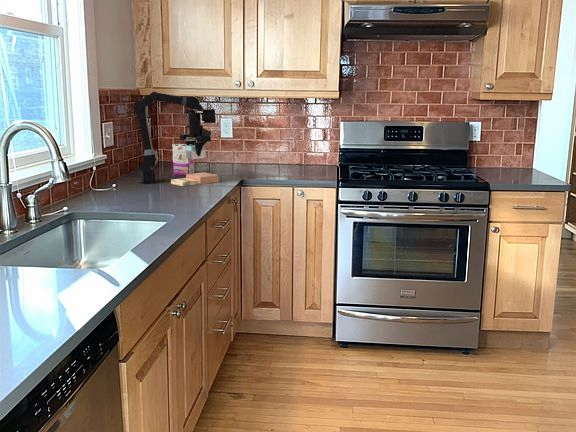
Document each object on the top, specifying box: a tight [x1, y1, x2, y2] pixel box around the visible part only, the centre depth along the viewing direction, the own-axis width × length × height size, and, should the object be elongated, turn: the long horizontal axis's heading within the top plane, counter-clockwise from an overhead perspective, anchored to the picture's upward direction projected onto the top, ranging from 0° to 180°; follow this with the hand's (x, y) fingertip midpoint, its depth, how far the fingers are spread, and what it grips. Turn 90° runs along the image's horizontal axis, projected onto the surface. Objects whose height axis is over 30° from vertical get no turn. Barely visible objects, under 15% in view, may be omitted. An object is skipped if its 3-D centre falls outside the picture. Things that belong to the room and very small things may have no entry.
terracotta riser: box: [185, 171, 219, 185], centre depth 282 cm, size 11×12×4 cm
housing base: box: [186, 149, 207, 160], centre depth 277 cm, size 5×8×4 cm, turn 133°
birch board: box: [170, 177, 198, 187], centre depth 275 cm, size 8×10×2 cm
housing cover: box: [186, 144, 206, 151], centre depth 276 cm, size 5×8×3 cm, turn 133°
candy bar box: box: [171, 143, 196, 177], centre depth 303 cm, size 11×5×16 cm, turn 61°
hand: (195, 155), depth 277 cm, fingers closed on housing base, 5 cm apart
